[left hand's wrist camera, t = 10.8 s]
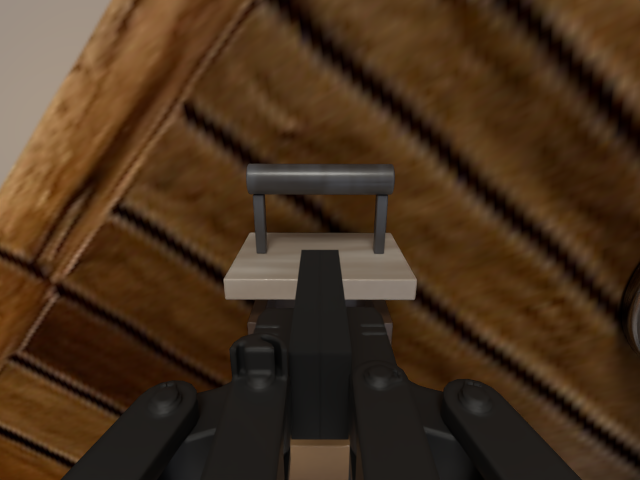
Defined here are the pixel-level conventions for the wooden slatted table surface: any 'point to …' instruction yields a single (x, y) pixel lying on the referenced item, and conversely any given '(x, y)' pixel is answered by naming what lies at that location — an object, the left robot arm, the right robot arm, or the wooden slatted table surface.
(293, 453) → the cabinet
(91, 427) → the wooden slatted table surface
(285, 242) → the drawer
